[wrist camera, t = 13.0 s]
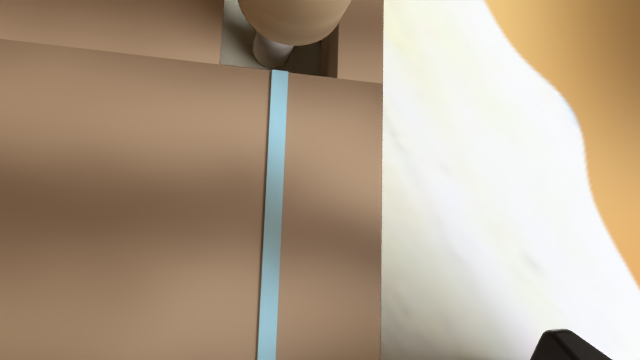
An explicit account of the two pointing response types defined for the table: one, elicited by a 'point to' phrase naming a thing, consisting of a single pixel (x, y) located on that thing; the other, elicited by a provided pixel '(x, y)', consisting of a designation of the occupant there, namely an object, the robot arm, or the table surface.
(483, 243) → the table surface
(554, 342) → the robot arm
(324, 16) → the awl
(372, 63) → the subfloor panel
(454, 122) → the table surface
